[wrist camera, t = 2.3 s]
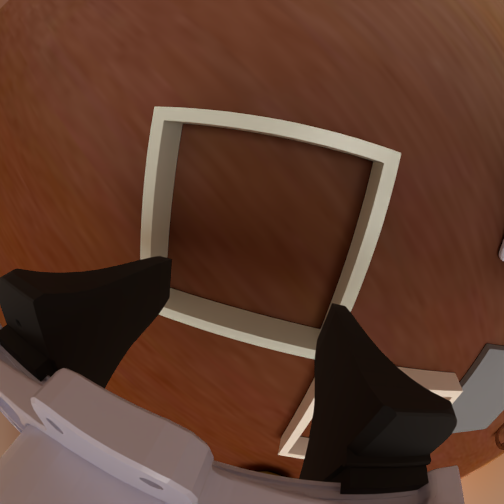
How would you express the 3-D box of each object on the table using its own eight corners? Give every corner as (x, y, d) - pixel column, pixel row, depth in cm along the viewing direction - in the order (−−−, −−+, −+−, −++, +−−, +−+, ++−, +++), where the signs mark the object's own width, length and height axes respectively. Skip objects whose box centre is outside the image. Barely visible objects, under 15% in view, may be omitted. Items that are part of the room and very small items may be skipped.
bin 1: (388, 152, 14) (401, 153, 12) (327, 339, 19) (327, 362, 17) (174, 111, 16) (154, 106, 13) (157, 292, 21) (140, 307, 18)
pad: (542, 350, 15) (545, 354, 14) (484, 424, 20) (485, 428, 19) (486, 343, 16) (489, 348, 16) (418, 429, 21) (419, 434, 20)
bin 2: (454, 372, 18) (463, 390, 16) (387, 447, 23) (389, 463, 21) (325, 354, 20) (326, 376, 17) (281, 436, 25) (278, 454, 22)
